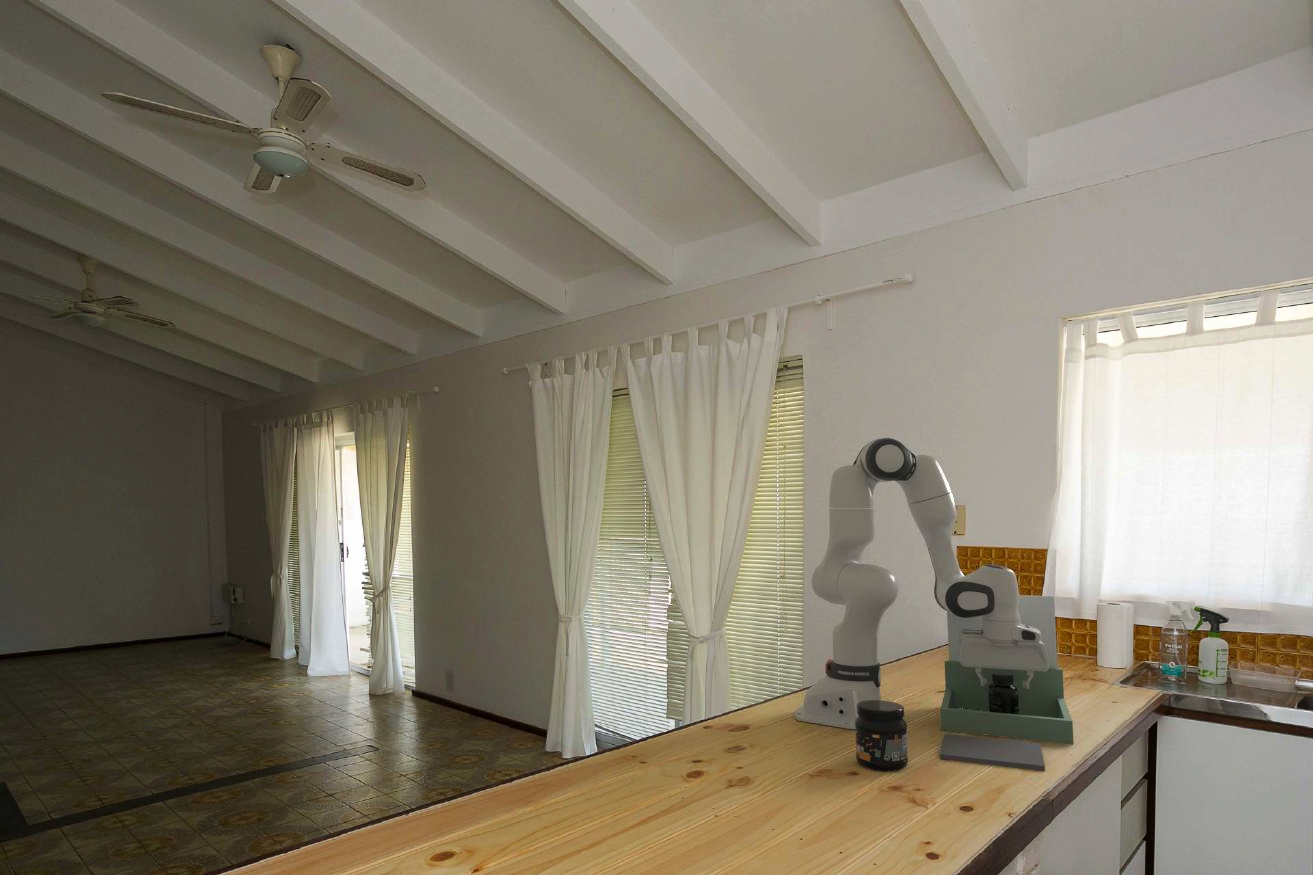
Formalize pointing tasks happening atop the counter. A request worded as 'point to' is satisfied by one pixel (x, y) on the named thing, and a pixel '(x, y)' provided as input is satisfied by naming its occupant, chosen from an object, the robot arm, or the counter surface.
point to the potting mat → (992, 752)
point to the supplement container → (881, 735)
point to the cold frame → (1034, 701)
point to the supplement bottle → (1003, 694)
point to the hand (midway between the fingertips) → (1005, 687)
